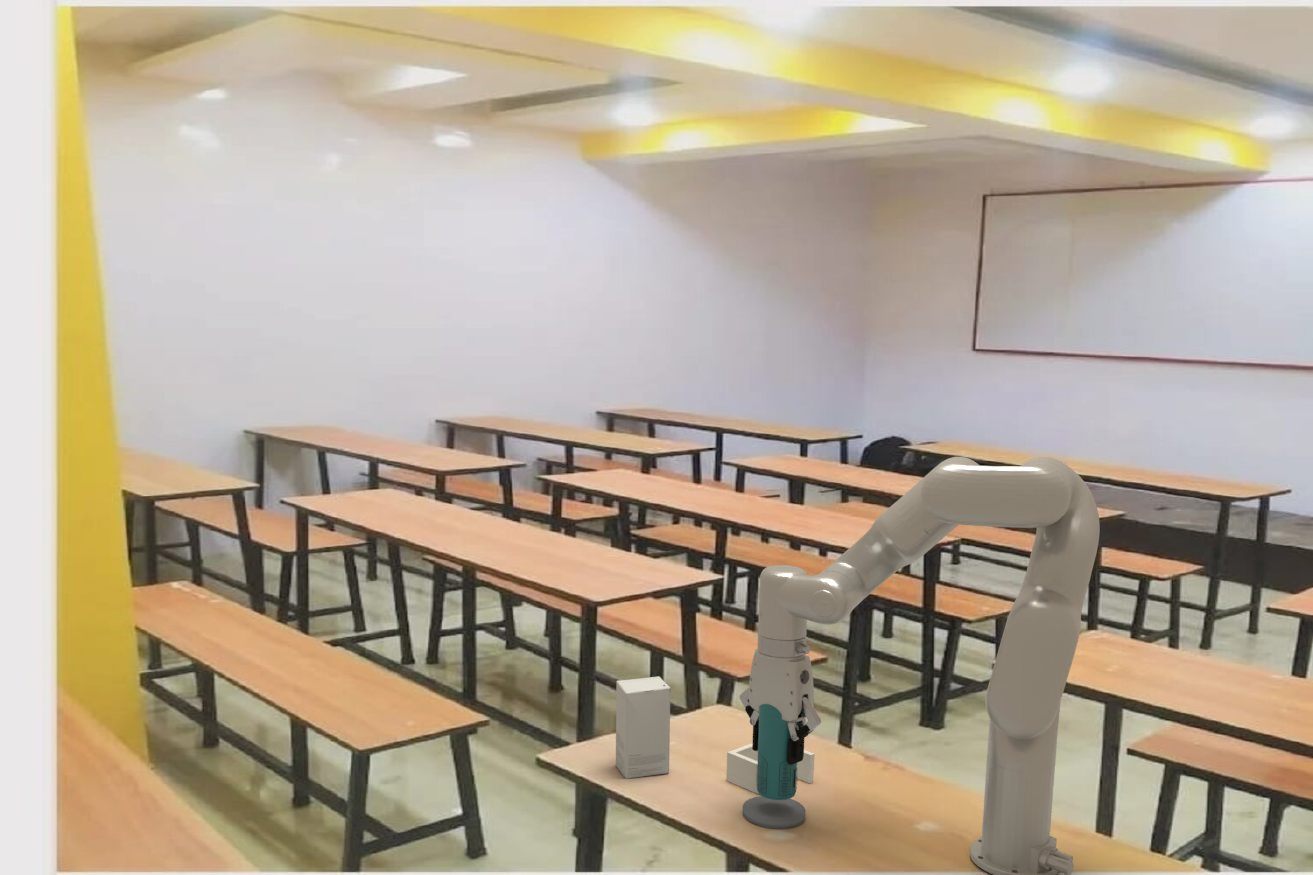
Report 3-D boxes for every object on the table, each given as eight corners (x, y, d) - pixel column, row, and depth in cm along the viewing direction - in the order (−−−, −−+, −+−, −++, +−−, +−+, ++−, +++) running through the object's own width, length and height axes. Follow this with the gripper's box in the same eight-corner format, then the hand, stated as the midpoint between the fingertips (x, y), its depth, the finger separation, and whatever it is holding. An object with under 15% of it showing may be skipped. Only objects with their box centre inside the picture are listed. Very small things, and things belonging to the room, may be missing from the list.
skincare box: (658, 760, 206) (661, 675, 204) (670, 775, 200) (673, 687, 198) (613, 765, 203) (615, 678, 201) (623, 780, 197) (626, 691, 195)
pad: (818, 816, 185) (818, 810, 185) (777, 834, 178) (777, 828, 178) (770, 795, 192) (770, 790, 192) (729, 813, 185) (729, 807, 185)
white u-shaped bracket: (813, 781, 199) (814, 753, 198) (771, 799, 191) (772, 770, 190) (768, 763, 206) (769, 736, 205) (726, 780, 198) (727, 752, 198)
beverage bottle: (798, 810, 182) (803, 686, 179) (755, 809, 182) (760, 685, 179) (794, 792, 188) (799, 672, 186) (753, 791, 188) (757, 671, 186)
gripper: (841, 653, 178) (836, 765, 181) (755, 628, 191) (752, 734, 193) (810, 663, 173) (805, 778, 175) (724, 637, 186) (721, 745, 188)
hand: (777, 754), depth 184 cm, fingers closed on beverage bottle, 6 cm apart
